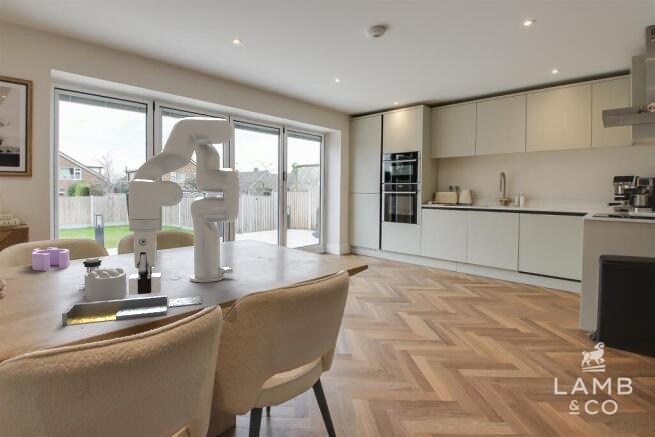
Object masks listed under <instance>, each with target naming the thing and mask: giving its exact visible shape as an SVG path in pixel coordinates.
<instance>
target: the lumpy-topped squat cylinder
mask: <svg viewBox="0 0 655 437" xmlns="http://www.w3.org/2000/svg"><path fill="white" fill-rule="evenodd" d="M84 284H85V285H84V286H85V287H84V295H85V296H84V297H85V299H87V300H88V301H89V302H99V301H111V300H122V299H124V298H125V297H126V296H127V294H128V293H127V290H128V289H127V272H126V271H125V270H124V269H123V268H122V267H116V268H112V267H109V266H108V267H107V266H106V267H101V268H100V267H99V269H94V270H92V271H91V272H90V271H89V273H87V272H86V273H84Z"/></svg>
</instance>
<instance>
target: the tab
mask: <svg viewBox="0 0 655 437" xmlns="http://www.w3.org/2000/svg"><path fill="white" fill-rule="evenodd" d="M194 305H202V297H201V295H198V296H190V297H180V298H169V303H168V307H169V308H175V307H176V308H177V307H184V306H185V307H186V306H194Z"/></svg>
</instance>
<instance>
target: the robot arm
mask: <svg viewBox="0 0 655 437" xmlns="http://www.w3.org/2000/svg"><path fill="white" fill-rule="evenodd" d="M232 137H233V128H232V125H231V123H230V122H229V121H228V120H227V119H225V118H214V117H213V118H211V117H184V118H179V119H177V120H176V121H175V123H174V125H173V126H172V129H171V131H170V133H169V136H168V138H167V140H166V142H165V144H164V146H163V149H162V150H161V151H160V152H158V153H156V154H155V155H153V156H152V157H151V158H149V159H148V160H146V161H145V162H144V163H142V165H140V167H139V168H138V169H137V171H136V172H135V175H134V176H133V179H132V180H130V181H129V183H128V231H129V232H131V233H132V232H133V255H134V268H135V269H138V270H137V274H138V294H137V295H148V294H150V295H151V294H152V293H151V279H150V274H153V269H154V268H155V267H157V263H158V240H157V232H159V231H161V207H167V208H168V207H173V206H177V205H178V204H180V202H182V199H183V197H184V192H183V187H181V185H180V184H179V183H177V182H175V181H171V180H158V179H160V178H161V177H162V176H165V175H166V174H169V173H172V172H175V171H178V170H180V169H183V168H185V167H187V166H188V165H189V164H190V163H191V160H192V157H193V154H194V153H195V157H196V158H195V159H196V160H195V162H196V163H195V185H196V190H197V191H198V192H200V193H203V194H221V195H223V196H199V197H197V198H195V199H193V201H192V202H191V204H190V213H191V218H192V224H193V258H194V259H193V262H194V263H193V264H194V265H193V270H194V271H193V272H194V273H193V274H192V275H190V276H189V280H190V281H191V282H195V283H214V282H219V281H221V280H222V281H223V279H225V274H233V272H234V270H233V267H222V265H221V233H220V232H221V231H220V230H219V228H218V226H217V225H216V223H233V222H235V221H237V219H238V216H239V211H240V210H239V209H240V208H239V207H240V179H239V175H238V173H237V171H236V170H234V169H233V168H226V167H225V168H221V162H220V160H221V158H220V157H221V156H220V154H219V151H218V150H217V148H216V147H215V146H214V145H221V144H227V143H229V142H230V141H231V139H232Z"/></svg>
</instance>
